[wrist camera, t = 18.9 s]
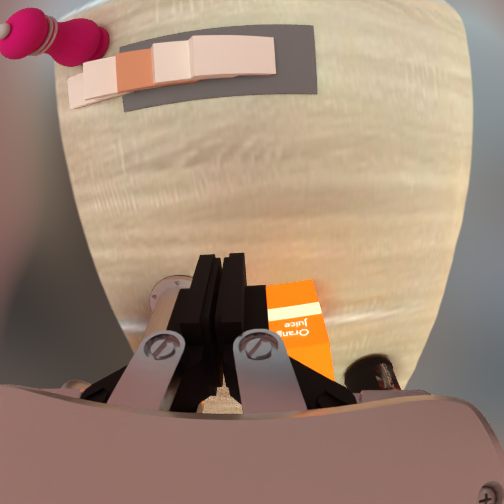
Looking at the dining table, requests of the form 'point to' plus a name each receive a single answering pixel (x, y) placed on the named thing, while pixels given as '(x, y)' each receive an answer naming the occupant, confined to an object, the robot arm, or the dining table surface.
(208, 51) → the domino
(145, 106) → the mat
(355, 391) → the container
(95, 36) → the pepper mill
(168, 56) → the domino
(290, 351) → the orange juice
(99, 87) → the domino
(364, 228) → the dining table surface
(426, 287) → the dining table surface
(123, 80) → the domino
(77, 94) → the domino
